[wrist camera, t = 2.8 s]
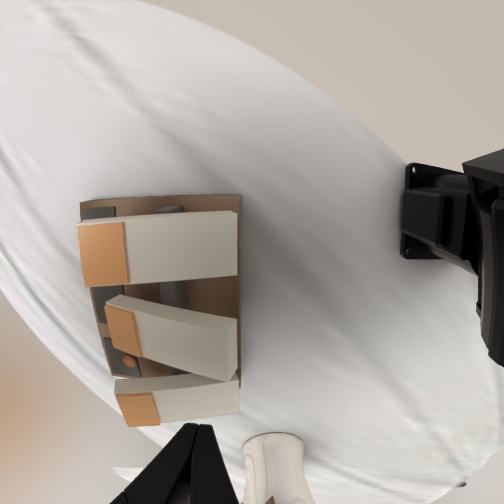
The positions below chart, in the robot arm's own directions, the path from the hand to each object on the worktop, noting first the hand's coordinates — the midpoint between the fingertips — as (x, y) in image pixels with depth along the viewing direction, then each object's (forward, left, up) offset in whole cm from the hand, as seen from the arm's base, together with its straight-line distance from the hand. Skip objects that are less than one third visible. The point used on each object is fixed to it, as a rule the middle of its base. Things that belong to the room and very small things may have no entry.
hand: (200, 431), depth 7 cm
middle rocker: (+3, 0, -6) cm, 6 cm away
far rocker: (+3, +5, -6) cm, 8 cm away
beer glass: (-4, +17, -11) cm, 21 cm away
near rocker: (+3, -4, -6) cm, 8 cm away
